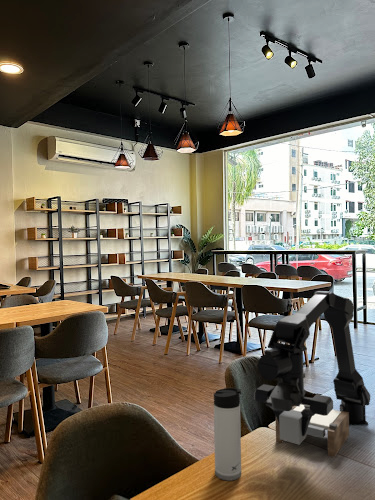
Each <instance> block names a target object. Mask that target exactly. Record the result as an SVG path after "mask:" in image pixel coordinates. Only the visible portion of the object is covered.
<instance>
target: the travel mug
mask: <svg viewBox="0 0 375 500" xmlns="http://www.w3.org/2000/svg"><path fill="white" fill-rule="evenodd" d="M241 395H242V389H239V388H235V387H225V388H221V389H218V390H216V391H215V392H214V393H213V432H214V434H213V435H214V437H213V438H214V441H213V442H214V474H215V476H216V477H217V478H219V479H220V480H223V481H227V482H228V481H234V480H237V479H240V477H241V476H242V446H241V445H242V443H241V442H242V441H241V439H242V438H241V437H242V435H241V401H240V400H241V399H240V396H241Z"/></svg>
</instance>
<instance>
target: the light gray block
mask: <svg viewBox="0 0 375 500" xmlns="http://www.w3.org/2000/svg"><path fill="white" fill-rule="evenodd" d="M279 425H280V440H284V441H283V442H288V443H292V444H296V445H301V443H302V442H303V441H304V440H305V439H306V438H307V434H306V433H305V435H304V436H302V414H301V412H300V411H295V410H290V411H284V412H282V413H281V414H280V415H279Z"/></svg>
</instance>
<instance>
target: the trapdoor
mask: <svg viewBox="0 0 375 500" xmlns="http://www.w3.org/2000/svg"><path fill="white" fill-rule="evenodd" d="M304 409H305V407H304V405H301V404H300V406H297V407H295V408H294V409H293V410H295V411H300V412H301V411H302V410H304ZM340 414H341V411H340V410H337V409H332V410H331V411H330V413H329V414H328V415H326V416H323V415H319V414H315V415H314V416H312V418H311V420H310V423H309V425H308V428H307V431H306V435H309V436H312V437H318V438H321V439H324V438H325V436H326V431H327V430H328V429H329V425H330V423H334V422H335V420H336V419H337V418H338V417H339V415H340Z"/></svg>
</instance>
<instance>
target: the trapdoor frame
mask: <svg viewBox="0 0 375 500" xmlns="http://www.w3.org/2000/svg"><path fill="white" fill-rule="evenodd" d="M295 407H297V406H294V407H292V410H293V409H294V408H295ZM326 431H327V457H331V458H335V457H336V456H337V455H338V453H339V451H340V450H341V448H342V447H343V446H344V444H345V442H346V441H347V439H348V438H349V437H350V425H349V412H345V411H343V412H342V413H341V414H340V415H339V417H338V418H337V419H336V420H335V422H334V423H330V425H329V429H328V430H326ZM276 441H277V443H280V442H281V443H283V442H285V441H284V440H280V426H279V423H278V420H277V418H276V417H275V442H276Z"/></svg>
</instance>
